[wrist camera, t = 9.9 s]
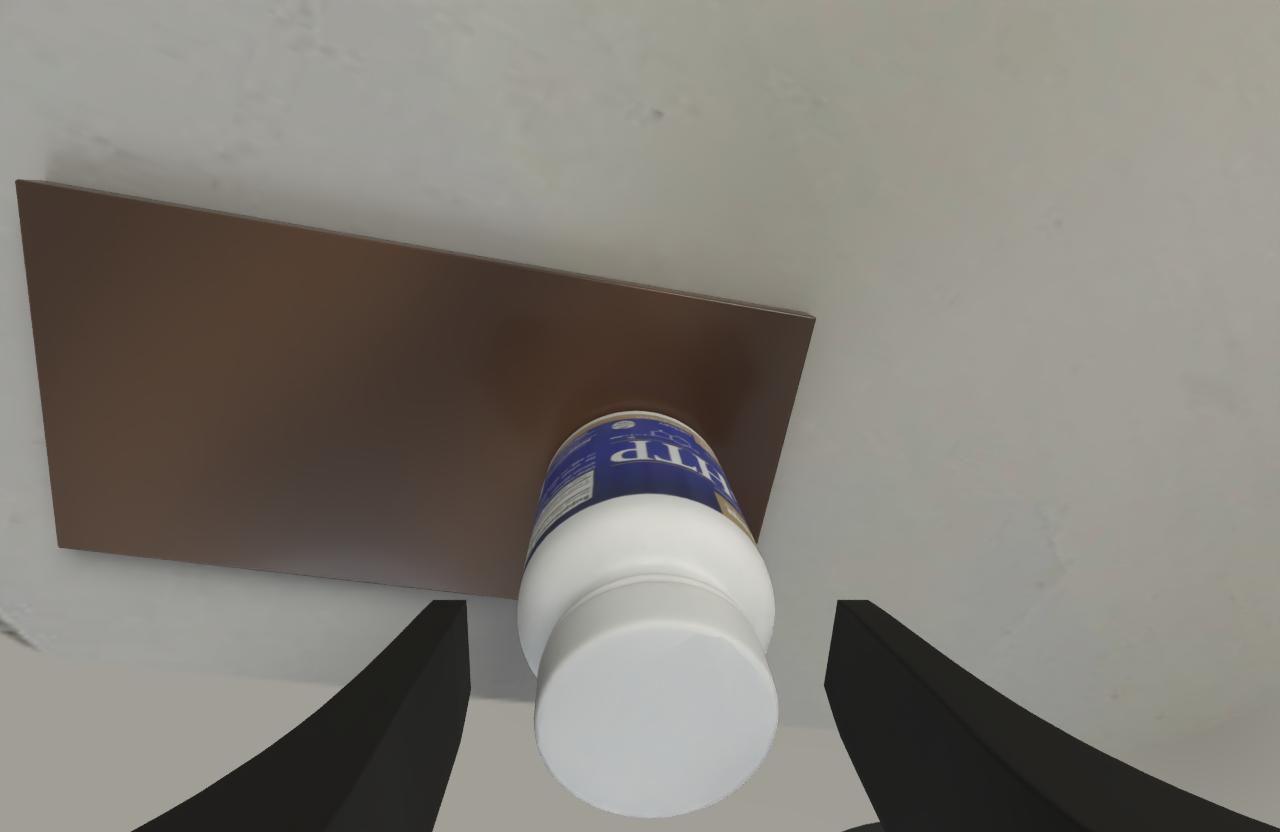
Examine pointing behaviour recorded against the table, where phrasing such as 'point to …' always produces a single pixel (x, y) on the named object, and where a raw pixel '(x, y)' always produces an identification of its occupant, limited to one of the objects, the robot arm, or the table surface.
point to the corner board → (356, 389)
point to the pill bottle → (646, 622)
